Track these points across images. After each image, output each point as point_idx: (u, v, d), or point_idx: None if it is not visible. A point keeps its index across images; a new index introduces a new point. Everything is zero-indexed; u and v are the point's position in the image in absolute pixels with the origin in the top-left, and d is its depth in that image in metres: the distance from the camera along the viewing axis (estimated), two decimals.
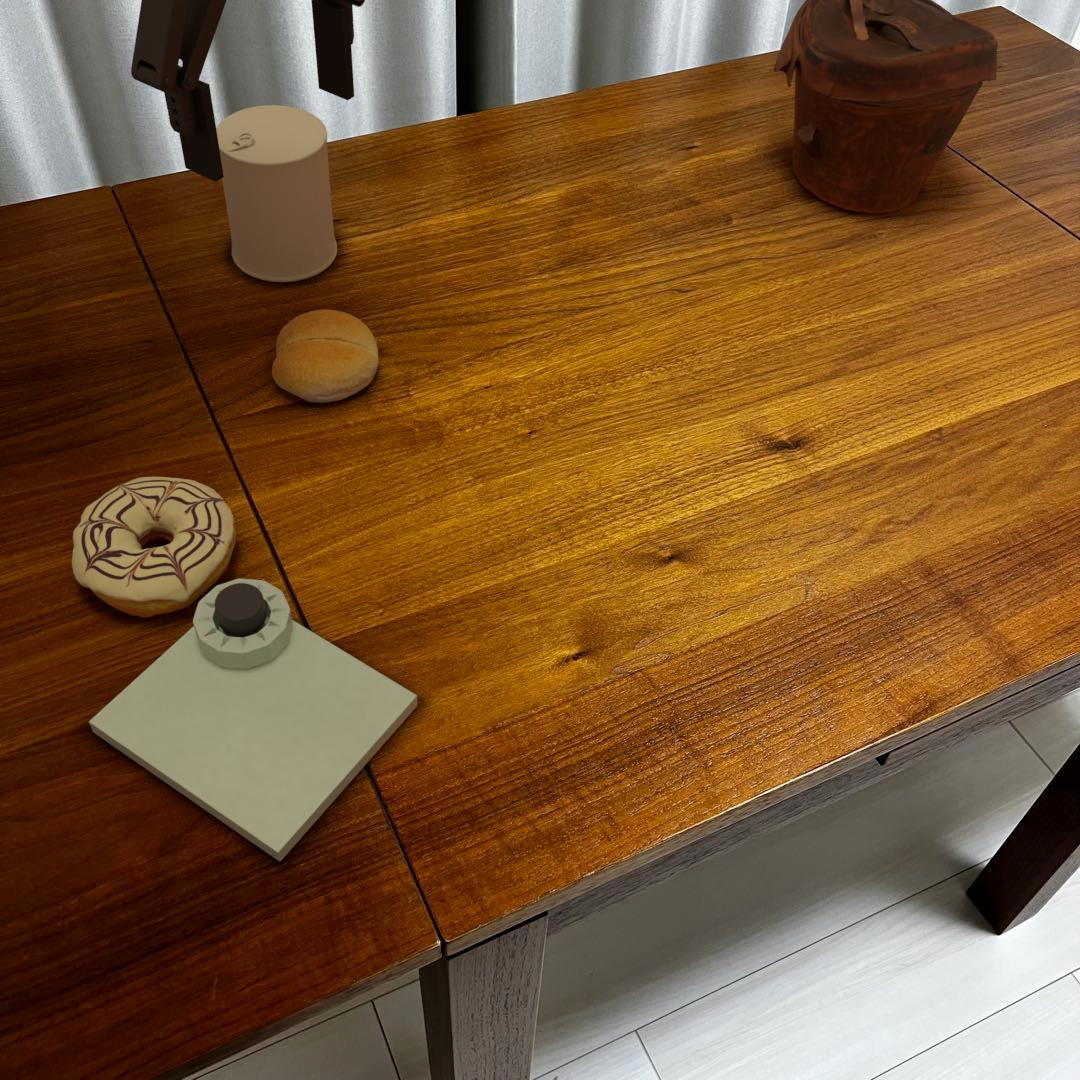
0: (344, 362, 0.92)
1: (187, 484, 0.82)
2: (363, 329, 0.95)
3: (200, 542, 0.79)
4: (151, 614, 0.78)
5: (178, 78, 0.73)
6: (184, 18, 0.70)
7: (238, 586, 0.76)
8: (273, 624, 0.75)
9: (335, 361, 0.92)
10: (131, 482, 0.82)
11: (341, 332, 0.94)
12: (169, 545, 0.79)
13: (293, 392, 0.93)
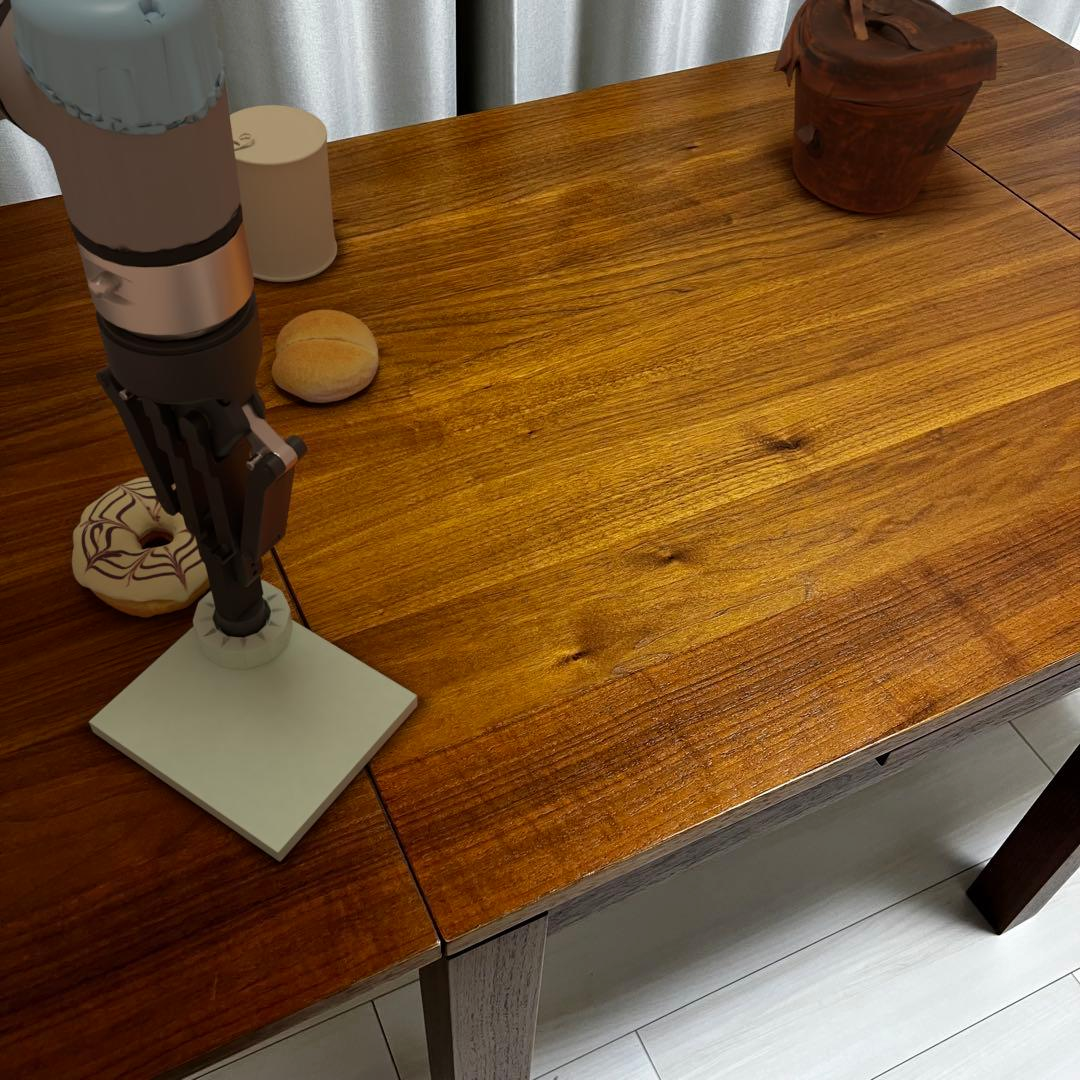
0: (344, 362, 0.92)
1: None
2: (363, 329, 0.95)
3: None
4: (151, 614, 0.78)
5: None
6: (150, 458, 0.67)
7: None
8: (273, 624, 0.75)
9: (335, 361, 0.92)
10: (131, 482, 0.82)
11: (341, 332, 0.94)
12: (169, 545, 0.79)
13: (293, 392, 0.93)
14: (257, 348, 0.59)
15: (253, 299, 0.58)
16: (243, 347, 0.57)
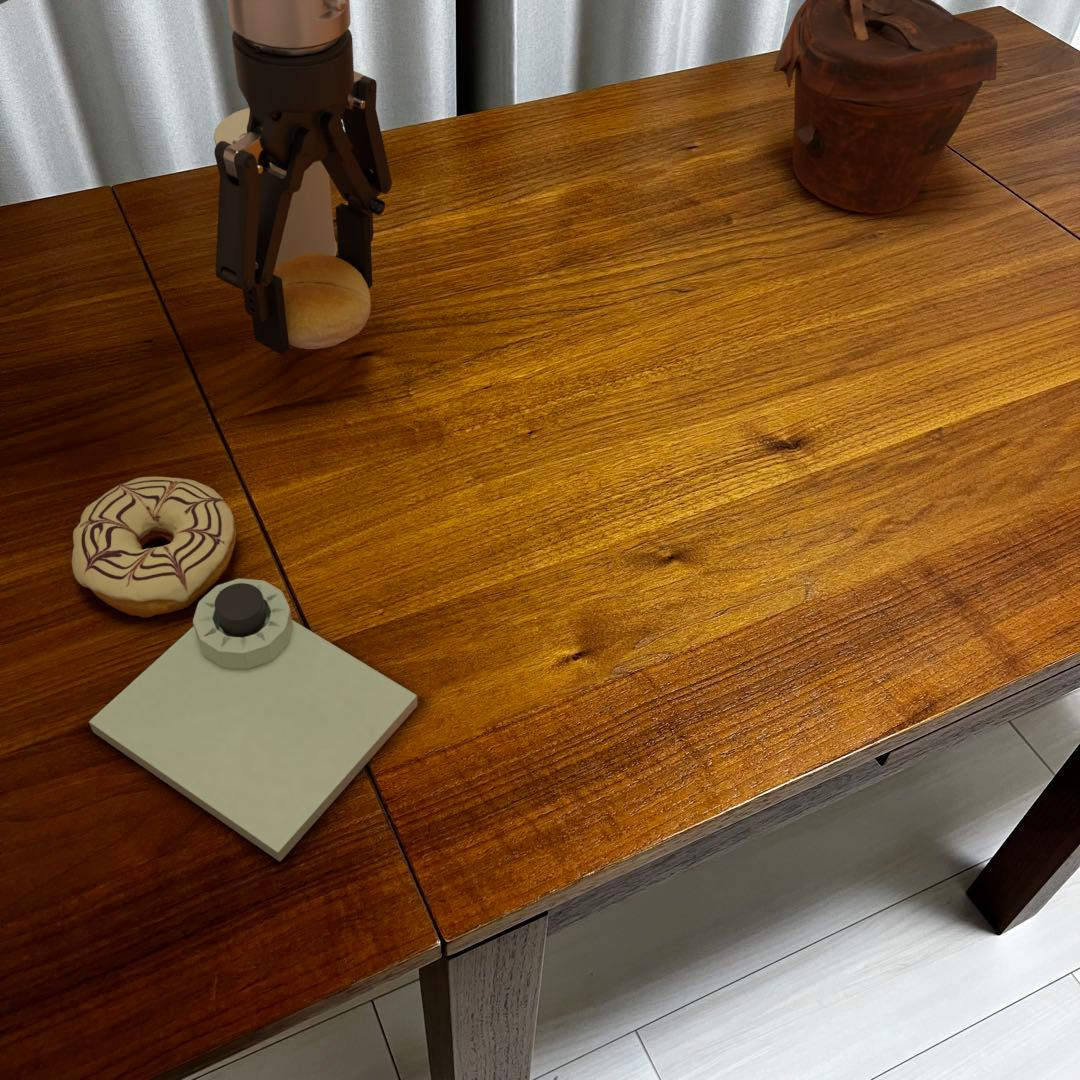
0: (335, 306, 0.88)
1: (187, 484, 0.82)
2: (354, 274, 0.92)
3: (200, 542, 0.79)
4: (151, 614, 0.78)
5: (256, 278, 0.83)
6: (256, 230, 0.80)
7: (238, 586, 0.76)
8: (273, 624, 0.75)
9: (326, 305, 0.88)
10: (131, 482, 0.82)
11: (332, 276, 0.90)
12: (169, 545, 0.79)
13: None
14: None
15: None
16: None
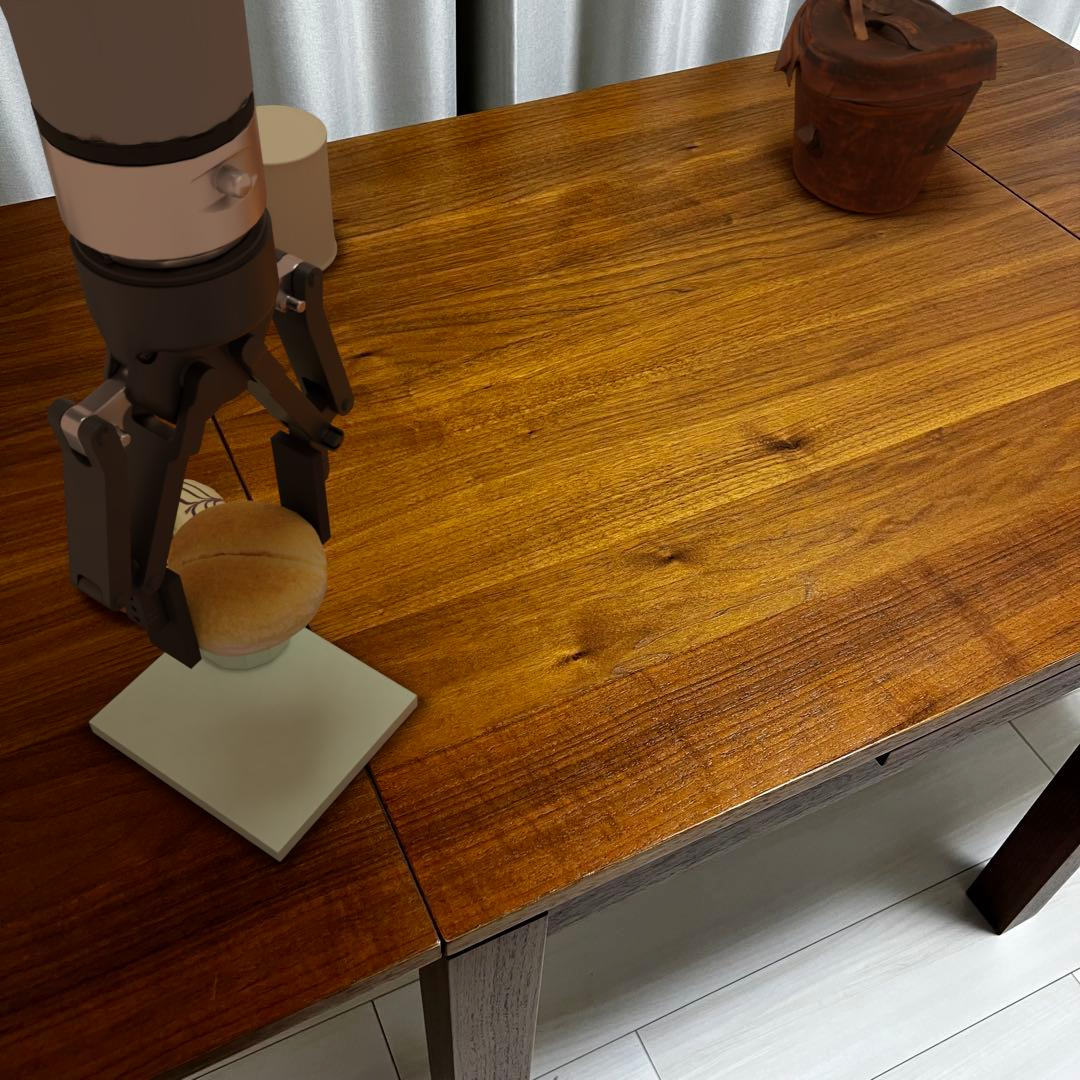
0: (270, 595, 0.58)
1: (187, 484, 0.82)
2: (302, 533, 0.61)
3: None
4: None
5: (136, 584, 0.53)
6: (128, 525, 0.49)
7: None
8: None
9: (256, 595, 0.58)
10: None
11: (267, 542, 0.60)
12: None
13: None
14: None
15: None
16: None
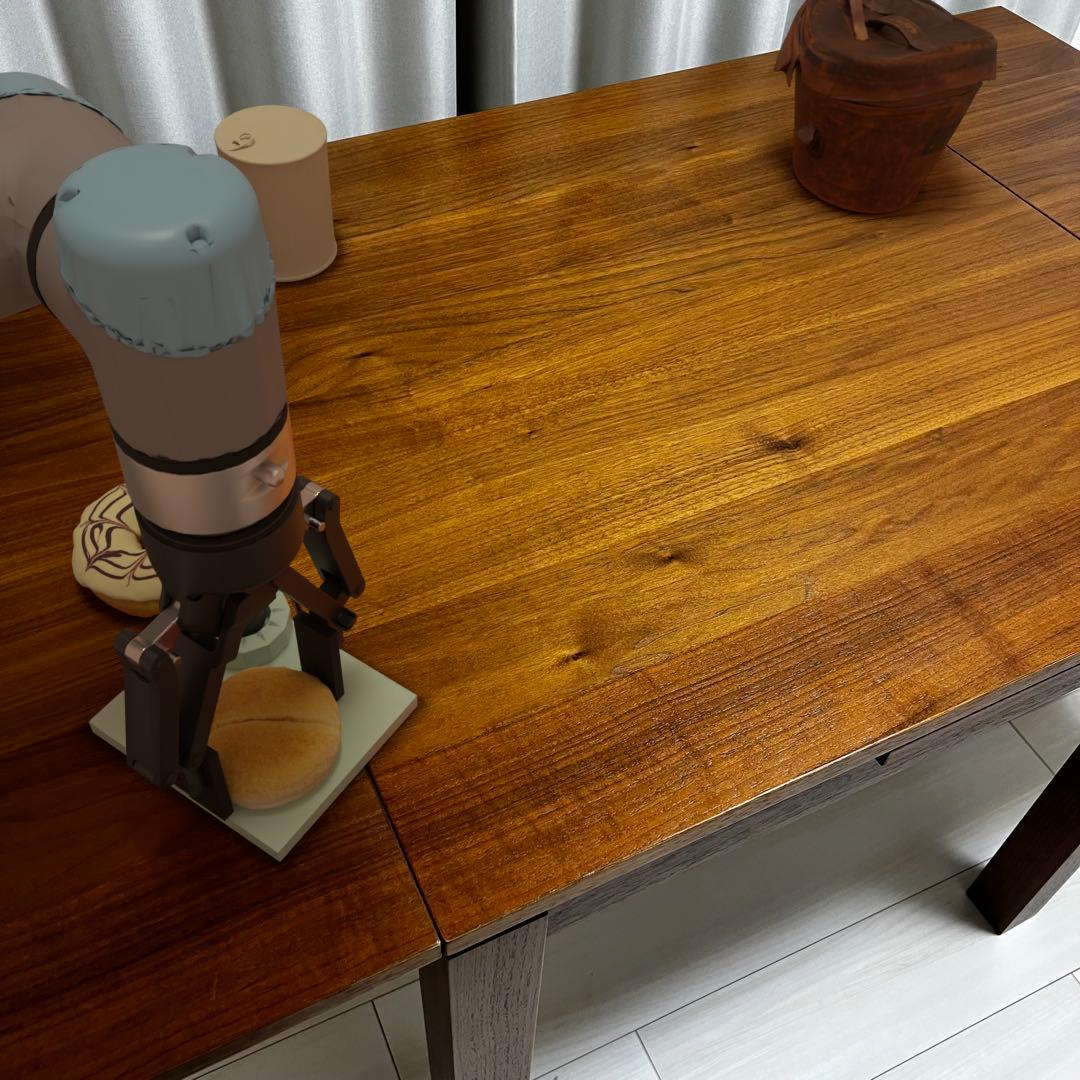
0: (293, 758, 0.68)
1: None
2: (320, 697, 0.71)
3: None
4: (151, 614, 0.78)
5: (181, 763, 0.62)
6: (177, 723, 0.59)
7: None
8: (273, 624, 0.75)
9: (281, 759, 0.67)
10: None
11: (290, 708, 0.70)
12: None
13: None
14: None
15: None
16: None
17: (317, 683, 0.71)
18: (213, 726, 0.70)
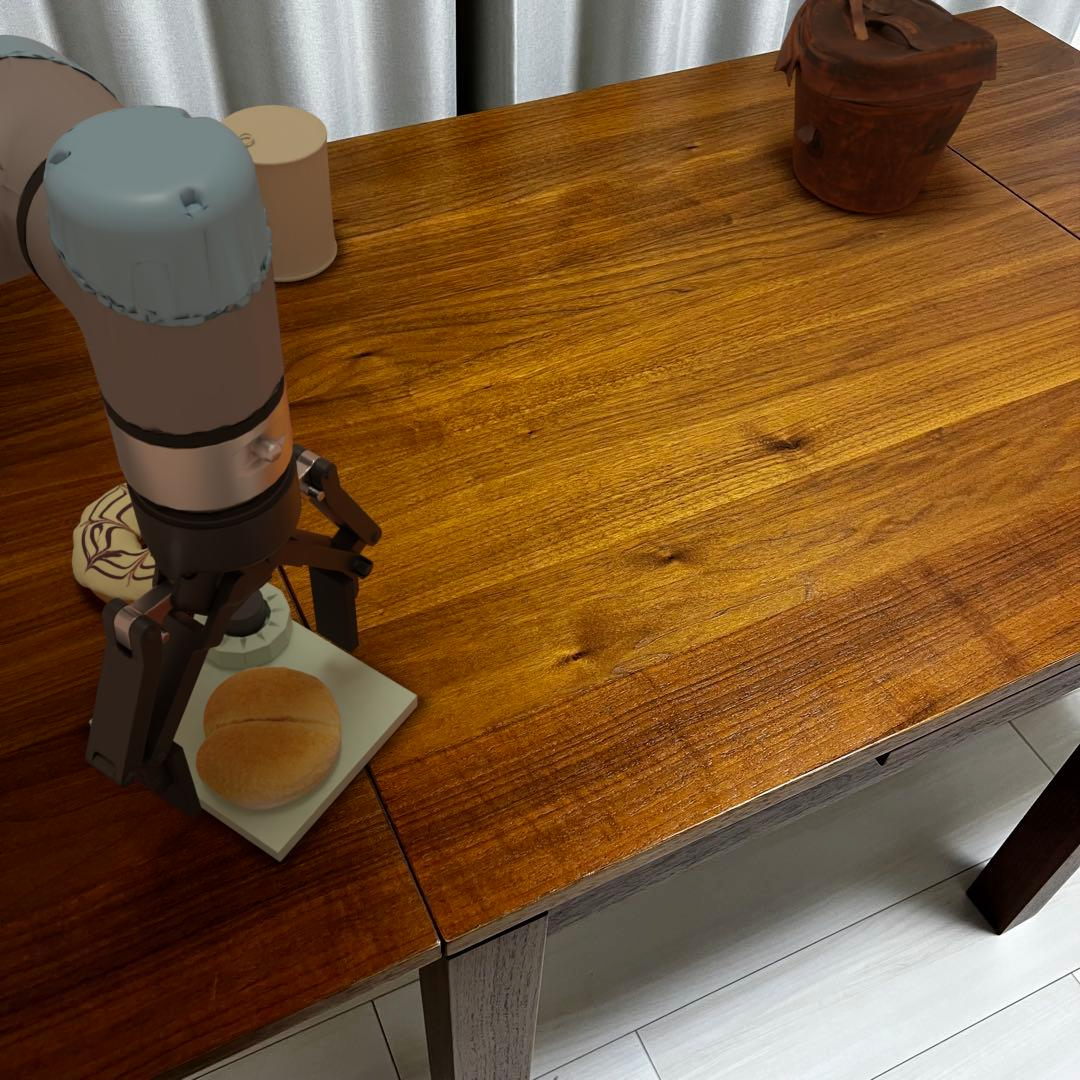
0: (293, 759, 0.68)
1: None
2: (320, 697, 0.71)
3: None
4: None
5: (144, 757, 0.59)
6: (150, 711, 0.57)
7: None
8: (273, 624, 0.75)
9: (281, 759, 0.67)
10: None
11: (290, 708, 0.70)
12: None
13: (223, 798, 0.68)
14: None
15: None
16: None
17: (317, 683, 0.71)
18: (213, 726, 0.70)
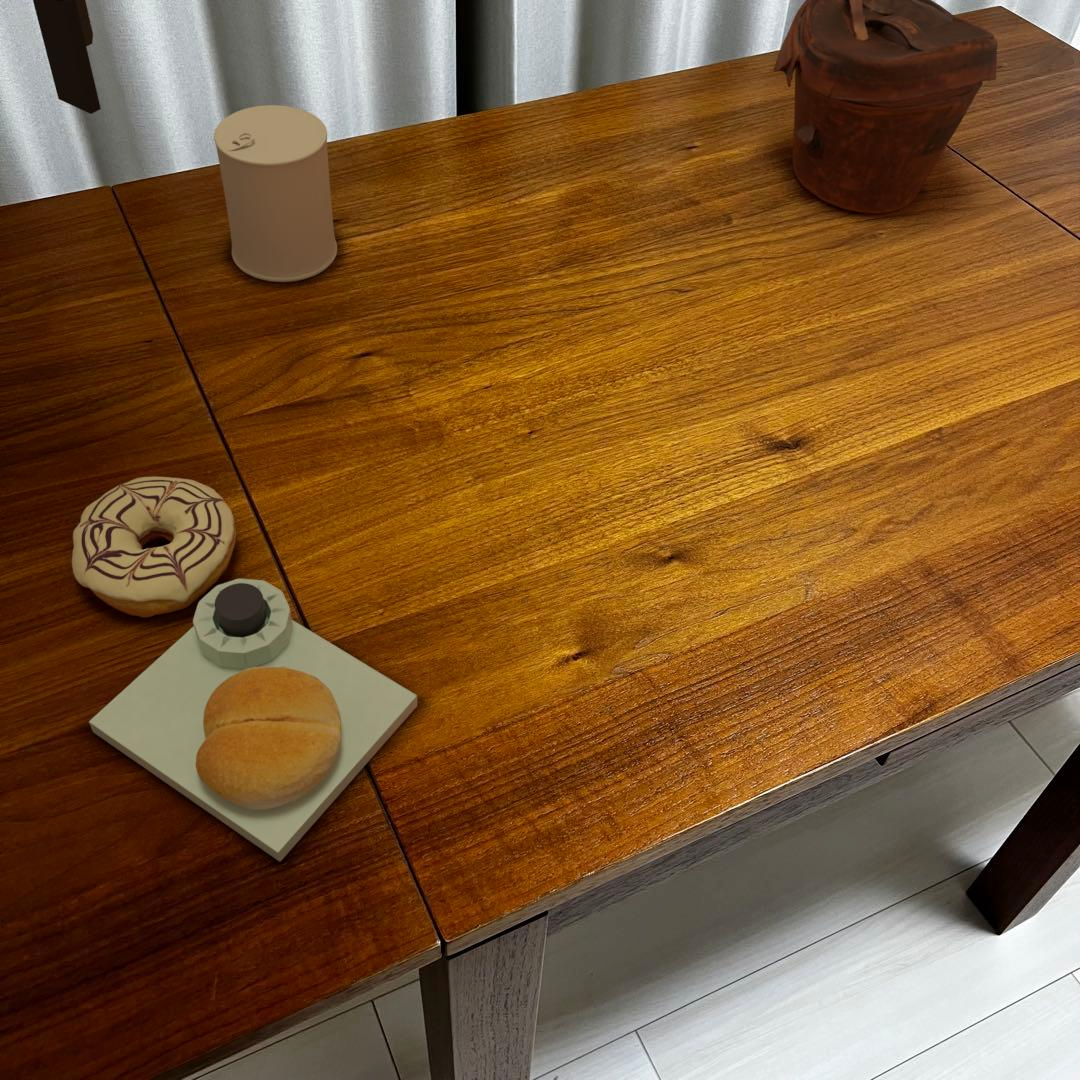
0: (293, 758, 0.68)
1: (187, 484, 0.82)
2: (320, 697, 0.71)
3: (200, 542, 0.79)
4: (151, 614, 0.78)
5: None
6: None
7: (238, 586, 0.76)
8: (273, 624, 0.75)
9: (280, 759, 0.67)
10: (131, 482, 0.82)
11: (290, 708, 0.70)
12: (169, 545, 0.79)
13: (223, 798, 0.68)
14: None
15: None
16: None
17: (317, 683, 0.71)
18: (213, 726, 0.70)
